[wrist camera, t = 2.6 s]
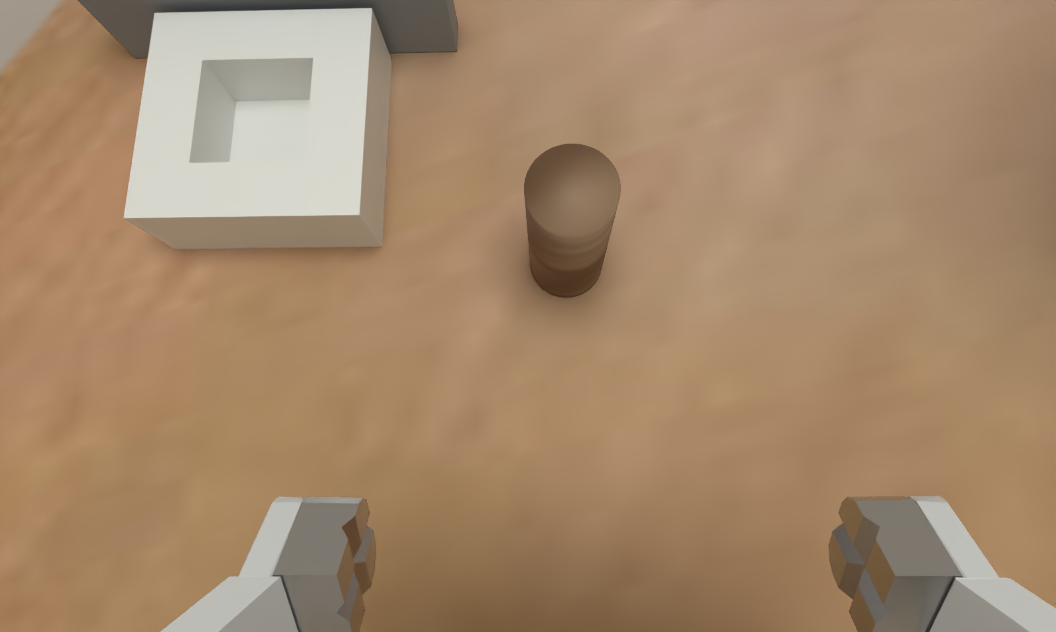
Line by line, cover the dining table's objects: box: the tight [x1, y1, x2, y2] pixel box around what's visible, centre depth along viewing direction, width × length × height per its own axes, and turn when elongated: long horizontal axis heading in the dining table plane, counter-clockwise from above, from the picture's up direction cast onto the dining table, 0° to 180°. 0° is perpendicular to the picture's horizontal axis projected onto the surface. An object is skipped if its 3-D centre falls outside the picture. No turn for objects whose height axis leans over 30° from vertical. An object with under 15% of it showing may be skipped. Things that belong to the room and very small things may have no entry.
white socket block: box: [124, 8, 392, 249], centre depth 37 cm, size 12×12×5 cm
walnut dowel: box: [524, 144, 621, 297], centre depth 33 cm, size 4×4×10 cm
